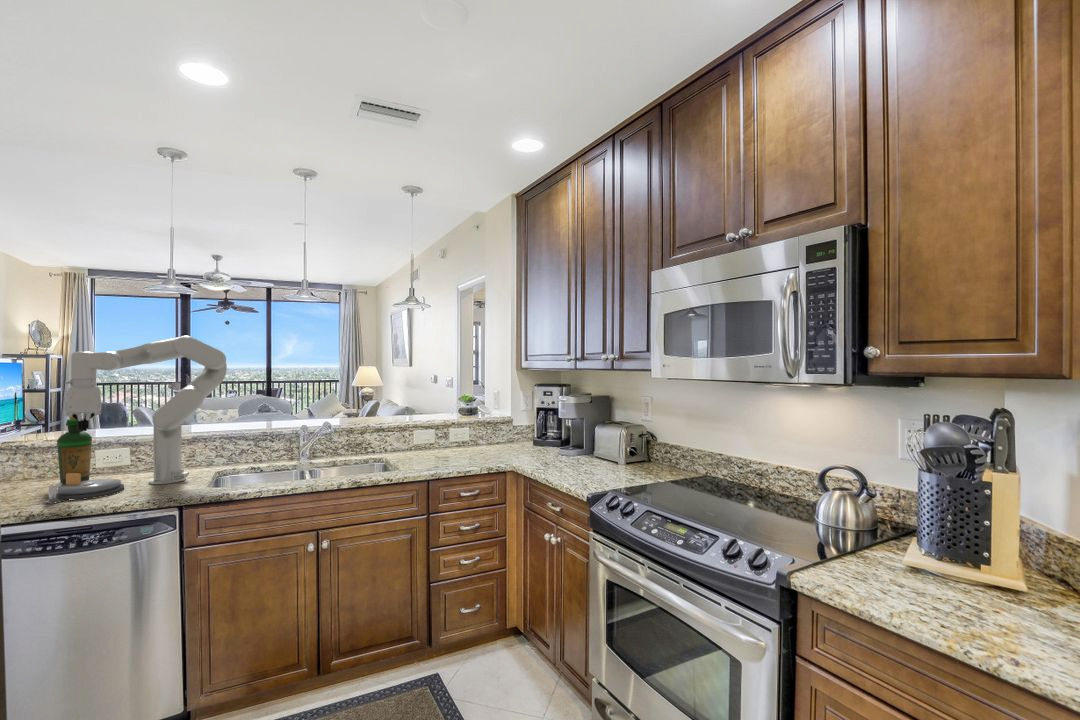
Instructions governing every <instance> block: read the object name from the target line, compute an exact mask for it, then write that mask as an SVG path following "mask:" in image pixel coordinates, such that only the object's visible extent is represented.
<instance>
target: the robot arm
mask: <svg viewBox="0 0 1080 720" xmlns="http://www.w3.org/2000/svg"><path fill="white" fill-rule="evenodd" d="M70 356H71V357H70V379H69V380H65V385H69V387H68V389H67V391H66V396H65V412H64V416H65V417H69V418H70V417H73V418H75V419H76V420H78V429H80V431H84V432H87V431H88V430H89V426H90V425H89V422H90V420H91V419H92V418H94V417H96V416H100V415H101V414H102V396H101V391H100V390H101V389H100V386H97V371H98V370H100V371H115V370H121V369H125V368H129V367H130V368H131V367H135V366H141V365H148V364H149V365H150V364H157V363H160V362H166V361H170V360H176V359H181V358H186V359H189V360H190V361H192V362H195V363H197V364H199V365H201V366H203V367H204V368H203V370H202V372H201V373H200V374H199V375H197V376H196V378H194V379H193V380H192V381H191V382H190V383H188V384H187V385H186V386H184V387H183V388H181V389H180V390H178V392H177V393H176V394H175V395H174V396H173V397H171V398H170V400H167V402H166V403H164V404H163V405H162V406H160V407H158V408H156V410H155V411H154V413H153V415H152V424H153V427H152V428H153V433H152V435H153V445H152V446H153V451H152V452H153V454H152V455H153V478H150V479H149V480H148V484H150V485H166V484H173V483H175V484H176V483H179V482H182V481H185V480H186V479H187V477H188V476H190V472H187V471H186V472H185V469H183V468H182V423H184V421H185V420H187V419H188V418H189V417H190V416H192V414H194V413H195V411H197V410H198V409H199V408H200V407H201V406H202V405H203V402H204V400H205V399H206V398H207V397H208V396H209V395H211V393H213V392H214V391H215V390H216V389H217V388H218V387H219V386H220V385H221V384H222V382H223V381H224V379H225V378H226V375H227V371H228V367H227V356H226V355H225V353H224V352H223V351H222V350H219V349H218V348H215V347H214V346H211V345H208V344H206V343H205V342H203V341H201V340H198V339H197V338H194V337H193V336H190V335H181V336H179V337H175V338H169V339H164V340H158V341H151V342H147V343H143V344H141V345H138V346H136V347H135V346H133V347H129V348H125V349H119V350H114V351H113V350H112V351H100V352H93V351H75V352H72V353H71V355H70ZM82 414H85V415H84V418H83V415H82ZM87 429H88V430H87Z"/></svg>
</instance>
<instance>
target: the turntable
mask: <svg viewBox="0 0 1080 720" xmlns="http://www.w3.org/2000/svg"><path fill="white" fill-rule="evenodd" d="M121 484H122V480H121V479H117V478H100V479H99V478H97V479H89V480H87V481H81V473H68V474H66V484H64V485H59V486H58V495H78V494H88V493H95V492H101V491H106V490H110V489H114V488H117V487H119V486H120V485H121Z"/></svg>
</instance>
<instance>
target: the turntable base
mask: <svg viewBox="0 0 1080 720" xmlns="http://www.w3.org/2000/svg"><path fill="white" fill-rule="evenodd" d="M122 490H123V491H124V490H125V484H124V483H121V485H120V486H119V487H117V488H114V489H110V490H106V491H101V492H95V493H88V494H78V495H58V499H64V500H69V499H83V500H85V499H84V498H91V499H94V498H93V497H97V498H100V497H99V496H103V497H106V496H105V495H108V496H110V495H109V494H112V495H115V494H118V493H120V491H121V492H122ZM117 492H118V493H117ZM114 493H115V494H114Z"/></svg>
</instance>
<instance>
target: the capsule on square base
mask: <svg viewBox="0 0 1080 720" xmlns="http://www.w3.org/2000/svg"><path fill="white" fill-rule="evenodd" d="M61 485H62V483H60V482H58V483H55V484H51V485H49V486H48V500H44V501H42V503H55V502H59V501H63V500H64V499H58V486H61ZM63 502H64V501H63Z"/></svg>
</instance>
